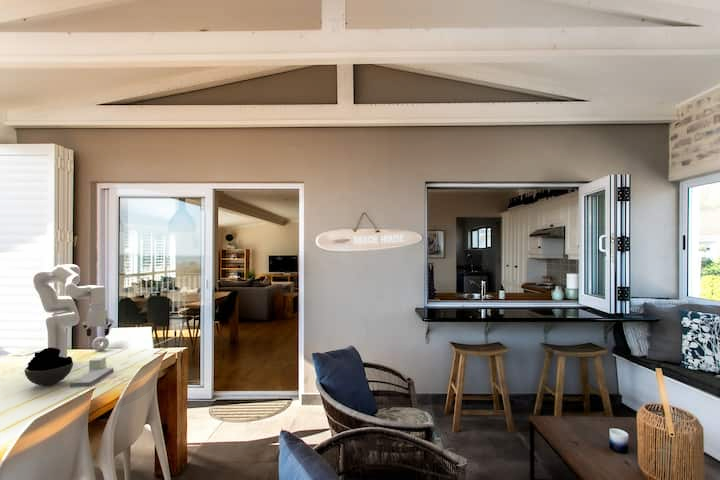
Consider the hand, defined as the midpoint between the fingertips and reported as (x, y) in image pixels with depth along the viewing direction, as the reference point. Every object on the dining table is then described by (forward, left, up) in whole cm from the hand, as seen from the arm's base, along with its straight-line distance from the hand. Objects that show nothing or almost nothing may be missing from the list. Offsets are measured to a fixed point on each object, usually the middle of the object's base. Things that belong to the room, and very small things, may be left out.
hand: (98, 335), depth 230 cm
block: (0, 0, -20) cm, 20 cm away
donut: (-20, +44, -20) cm, 52 cm away
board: (+7, -19, -20) cm, 28 cm away
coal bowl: (-11, -25, -20) cm, 34 cm away
